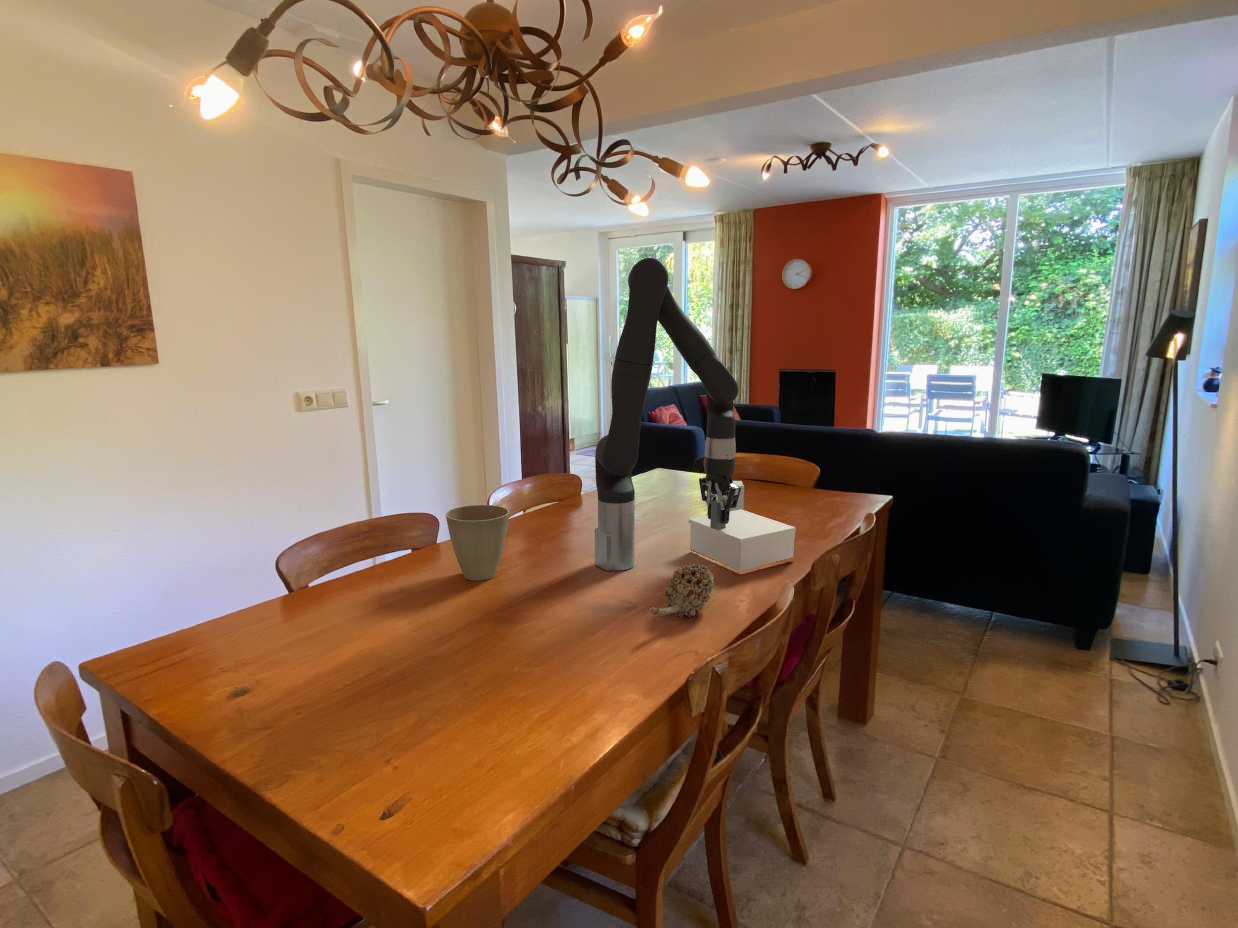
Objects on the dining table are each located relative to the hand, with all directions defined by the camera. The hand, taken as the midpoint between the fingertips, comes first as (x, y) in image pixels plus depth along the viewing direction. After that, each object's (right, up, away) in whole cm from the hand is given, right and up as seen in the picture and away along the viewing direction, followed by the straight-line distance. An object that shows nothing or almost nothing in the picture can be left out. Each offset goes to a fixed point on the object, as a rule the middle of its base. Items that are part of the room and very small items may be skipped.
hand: (718, 520), depth 166 cm
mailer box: (+7, -10, +6) cm, 14 cm away
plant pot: (-59, -13, -7) cm, 61 cm away
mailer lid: (+7, -2, +5) cm, 8 cm away
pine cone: (-12, -18, -31) cm, 37 cm away
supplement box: (+9, -4, +38) cm, 39 cm away
